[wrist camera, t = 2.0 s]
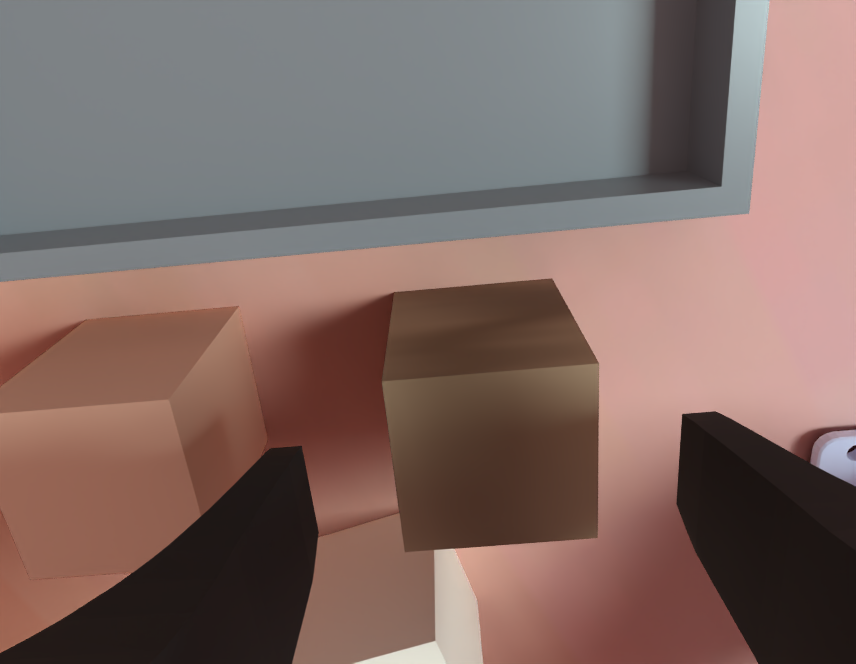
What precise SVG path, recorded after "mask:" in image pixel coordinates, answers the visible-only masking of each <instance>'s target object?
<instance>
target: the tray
mask: <svg viewBox="0 0 856 664" xmlns="http://www.w3.org/2000/svg"><path fill="white" fill-rule="evenodd" d="M768 10H769V0H0V282H3V281H14V280H24V279H35V278H46V277H57V276H68V275H79V274H90V273H101V272H112V271H123V270H134V269H145V268H156V267H167V266H178V265H189V264H200V263H211V262H222V261H233V260H244V259H255V258H266V257H277V256H288V255H299V254H310V253H321V252H332V251H343V250H354V249H365V248H376V247H387V246H398V245H409V244H420V243H431V242H442V241H453V240H464V239H475V238H486V237H497V236H507V235H518V234H529V233H540V232H551V231H562V230H573V229H584V228H595V227H606V226H617V225H628V224H639V223H650V222H661V221H672V220H683V219H694V218H705V217H716V216H727V215H738V214H749V209H750V199H751V188H752V178H753V167H754V157H755V146H756V136H757V125H758V115H759V104H760V94H761V83H762V73H763V62H764V52H765V41H766V31H767V20H768Z"/></svg>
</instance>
